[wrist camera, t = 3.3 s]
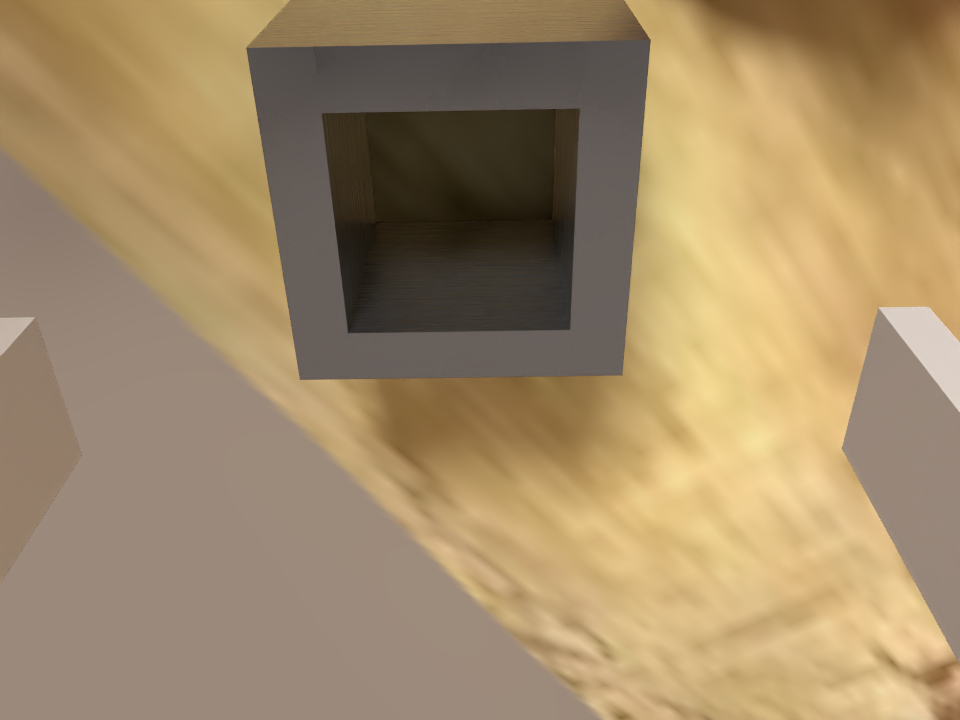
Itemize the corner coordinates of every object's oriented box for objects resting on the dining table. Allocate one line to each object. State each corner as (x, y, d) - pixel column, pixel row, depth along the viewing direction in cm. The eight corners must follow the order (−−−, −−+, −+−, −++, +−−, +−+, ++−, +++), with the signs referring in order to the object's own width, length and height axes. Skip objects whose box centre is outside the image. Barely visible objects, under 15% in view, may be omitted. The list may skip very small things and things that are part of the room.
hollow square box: (336, 262, 25) (300, 379, 20) (302, -14, 21) (246, 47, 16) (594, 258, 25) (622, 375, 20) (611, -20, 21) (650, 40, 16)
